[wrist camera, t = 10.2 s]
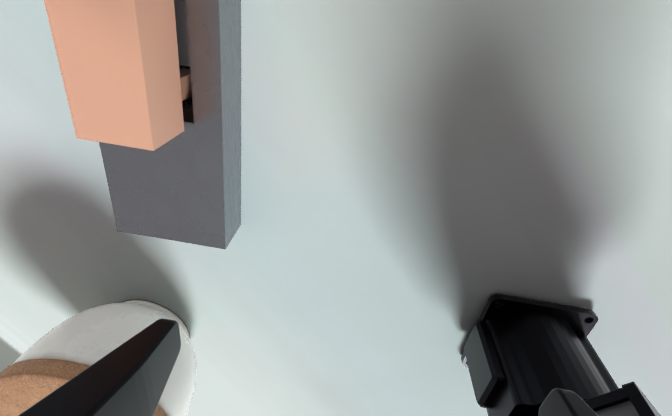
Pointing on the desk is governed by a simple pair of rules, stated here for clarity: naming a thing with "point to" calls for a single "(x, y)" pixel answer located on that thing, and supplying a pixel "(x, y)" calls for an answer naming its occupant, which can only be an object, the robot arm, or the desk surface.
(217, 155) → the rail
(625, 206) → the desk surface
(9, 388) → the lidded jar
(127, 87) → the peach rectangular block
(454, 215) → the desk surface
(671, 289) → the desk surface
